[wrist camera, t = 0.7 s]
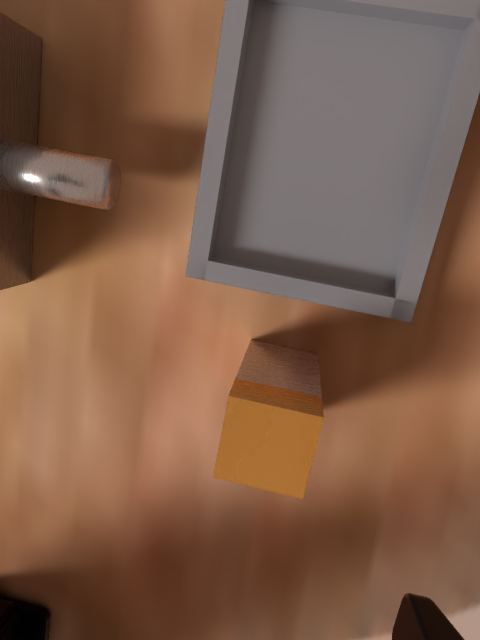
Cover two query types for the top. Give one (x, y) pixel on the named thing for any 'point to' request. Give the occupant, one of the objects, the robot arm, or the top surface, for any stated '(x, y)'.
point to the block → (272, 420)
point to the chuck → (36, 157)
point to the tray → (334, 147)
